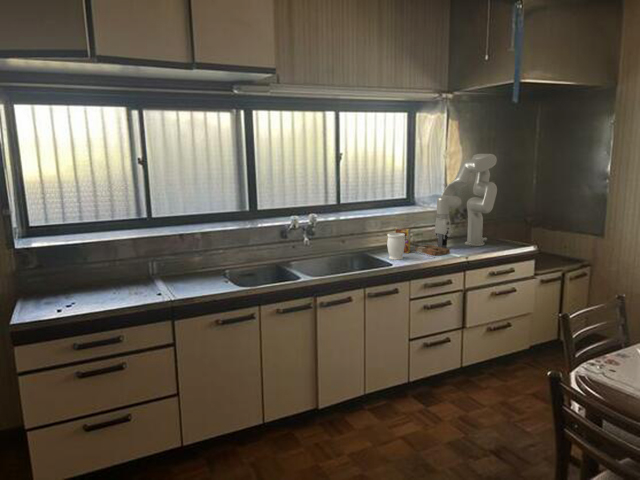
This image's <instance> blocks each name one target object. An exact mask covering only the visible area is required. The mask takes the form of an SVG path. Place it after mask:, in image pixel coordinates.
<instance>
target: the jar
mask: <svg viewBox="0 0 640 480" xmlns="http://www.w3.org/2000/svg"><path fill="white" fill-rule="evenodd" d="M386 235H387V243H386V244H387V252H388V255H389V256H388V259H389V260H393V261H394V260H395V261H400V260H403V259H404V257H403V255H404V254H405V253H404V247H405V240H404V236H405V234H403V233H395V232H390V233H389V232H388V233H387V234H386Z"/></svg>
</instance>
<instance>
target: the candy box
mask: <svg viewBox="0 0 640 480" xmlns="http://www.w3.org/2000/svg"><path fill="white" fill-rule="evenodd" d="M394 233H403V234H405V236H404V240H405V247H404V253H403V254H410V253H411V228H402V227H396V228H395V230H394Z"/></svg>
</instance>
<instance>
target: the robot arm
mask: <svg viewBox="0 0 640 480" xmlns="http://www.w3.org/2000/svg"><path fill="white" fill-rule="evenodd" d="M497 159H498V158H497V156H496V155H495V154H493V153H475V154H474V155H473V156H472V157H471V158H468V159H465V160H463V161H462V164H461V165H460V168H459V170H458V172H457V175H456V176H455V178H454V180H452V181H451V182H450V183H449V184H448V185H446V187H445V188H444V189H443V192H442V193H441V195H440V196H438V197H437V198H436V217H435V222H434V223H435V225H434V232H433V233H434V234H435V236H436V238H437V239H438V233H440V234H443V245H447V246H448V239H449V237H451V235H452V234H451V233H452V231H451V230H452V226H451V224H452V223H451V219H450V208H453V209H457V208H459V207H460V206H461V205H462V199H461V197H459V196H457V195H453V194H454V192H456V191H457V190H459V189H462V188H464V187H466V186H468V184H469V182H470V180H471V177H472V176H473V174H474V173H475V178H474V179H475V180H474V183H473V188H472V192H473V195H476V196H477V197H476V196H475V197H473V196H472V197H471V198H469V199H467V201H466V210H467V239H466V241H465V242H464V245H465V246H470V247H482V246H485V242H484V241H487V240H488V238H487V237H483V231H484V230H483V229H484V227H483V225H484V218H483V214H489V213H491V212H492V210H493V208H494V205H495V202H496V198H497V192H498V188H497V187H498V186H497V185H496V184H495V183H494V182H493V181H490V177H491V176H490V175H491V173H490V170H489V169H492V168H493V167H494V166H496V164H497ZM478 196H480V197H478ZM445 235H446V236H445ZM437 245H438V240H437Z"/></svg>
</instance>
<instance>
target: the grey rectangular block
mask: <svg viewBox="0 0 640 480" xmlns="http://www.w3.org/2000/svg"><path fill="white" fill-rule="evenodd" d="M445 236H446V235H445ZM437 241H438V244H437V247H442V248H446V249H447V248H448V244H447V245H443V234H440V233H438V238H437Z"/></svg>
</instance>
